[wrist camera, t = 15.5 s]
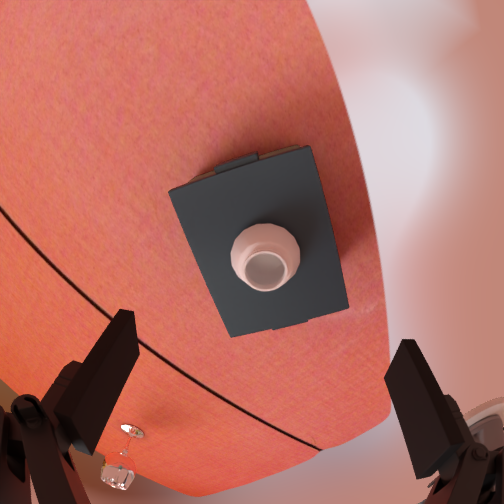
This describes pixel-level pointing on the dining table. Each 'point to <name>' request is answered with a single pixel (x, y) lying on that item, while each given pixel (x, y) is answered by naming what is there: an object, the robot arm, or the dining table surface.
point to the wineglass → (121, 462)
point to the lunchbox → (263, 212)
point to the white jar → (265, 256)
